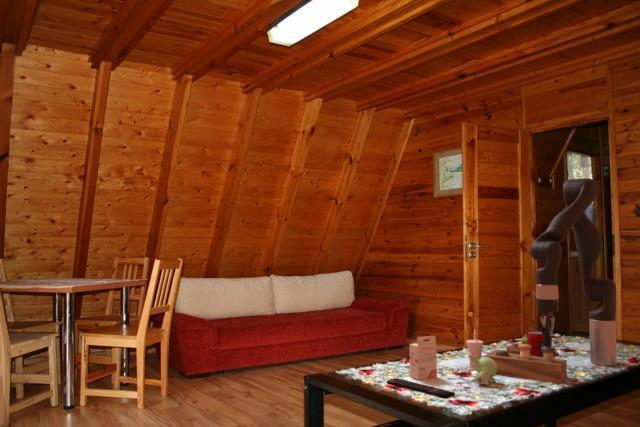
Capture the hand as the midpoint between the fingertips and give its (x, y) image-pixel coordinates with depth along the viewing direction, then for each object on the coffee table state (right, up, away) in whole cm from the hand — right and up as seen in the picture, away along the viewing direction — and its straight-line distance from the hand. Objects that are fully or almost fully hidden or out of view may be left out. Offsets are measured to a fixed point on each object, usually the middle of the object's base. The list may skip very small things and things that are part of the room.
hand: (548, 346), depth 189 cm
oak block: (-7, -11, +4) cm, 14 cm away
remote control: (-48, -11, -15) cm, 52 cm away
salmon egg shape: (-7, -8, +4) cm, 11 cm away
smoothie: (-21, -12, +16) cm, 29 cm away
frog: (-25, -11, -7) cm, 28 cm away
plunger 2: (0, -7, 0) cm, 7 cm away
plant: (+11, -14, +43) cm, 46 cm away
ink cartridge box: (-44, -11, +1) cm, 45 cm away
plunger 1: (-13, -11, +9) cm, 19 cm away
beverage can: (+5, -12, +23) cm, 26 cm away
